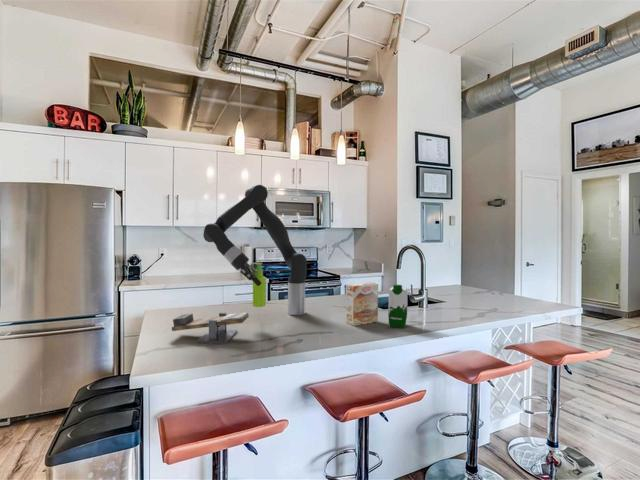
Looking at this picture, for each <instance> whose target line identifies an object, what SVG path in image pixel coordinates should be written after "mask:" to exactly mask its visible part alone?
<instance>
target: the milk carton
mask: <svg viewBox="0 0 640 480" xmlns="http://www.w3.org/2000/svg"><path fill="white" fill-rule="evenodd" d="M387 311H388V315H387V316H388V326H391V327H390V328H398V327H402V329H405V327H406V324H407V318H408V289H407V288H406V287H403V285H402V284H393V286H392V287H390V288H389V289H388V310H387Z"/></svg>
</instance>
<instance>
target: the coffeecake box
mask: <svg viewBox="0 0 640 480" xmlns="http://www.w3.org/2000/svg"><path fill="white" fill-rule="evenodd" d="M345 293H346V295H345V296H346V298H345V299H346V301H345V302H346V304H345V305H346V306H345V309H346V310H345V323H346V324H349V325H350V326H352V325H353V326H352V327H355V326H356V327H357V326H361V324H362V325H368V324H367V323H369V324H374V323H373V322H376V323H379V322H378V321H379V283H375V282H371V281H369V282H357V283H355V282H354V283H346V292H345Z"/></svg>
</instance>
